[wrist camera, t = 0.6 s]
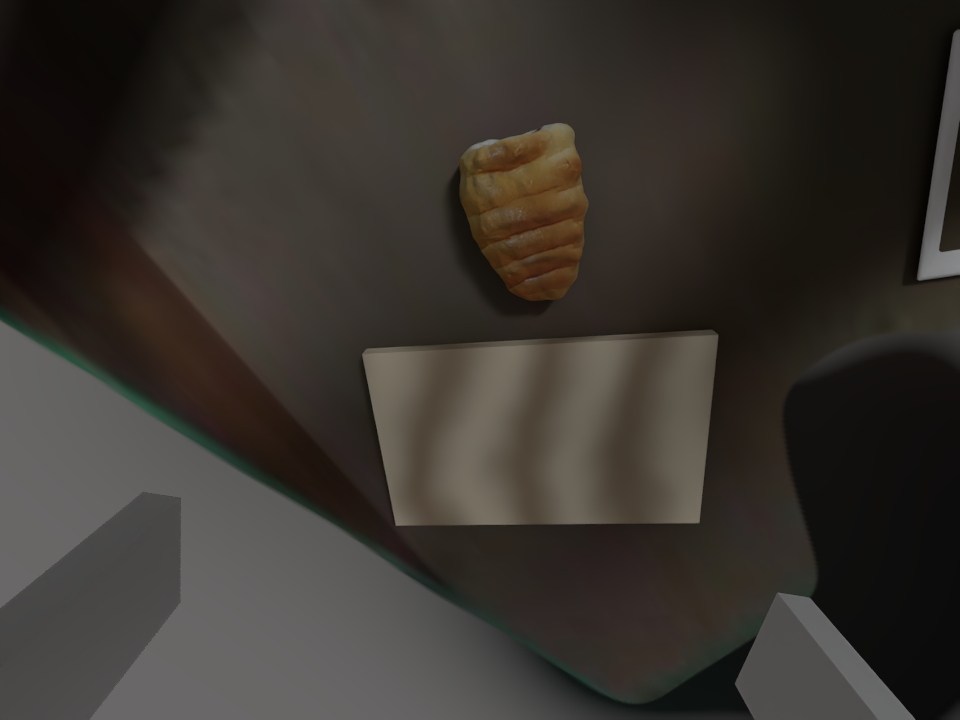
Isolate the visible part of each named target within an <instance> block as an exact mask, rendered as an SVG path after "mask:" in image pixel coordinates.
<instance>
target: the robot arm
mask: <svg viewBox="0 0 960 720" xmlns="http://www.w3.org/2000/svg"><path fill="white" fill-rule="evenodd" d="M180 500H181V498H178V497H172V496H165V495H159V494H152V493H147V492H142V493H141V494H140V495H139V496H137V497H136V498H135V499H134V500H133V501H131V502H130V503H129V504H128V505H127V506H125V507H124V508H123V509H122V510H120V511H119V512H118V513H117V514H115V515H114V516H113V517H112V518H111V519H109V520H108V521H107V522H106V523H104V524H103V525H102V526H101V527H99V528H98V529H97V530H96V531H95V532H94V533H92V534H91V535H90V536H88V537H87V538H86V539H85V540H83V541H82V542H81V543H80V544H79V545H77V546H76V547H75V548H74V549H72V550H71V551H70V552H69V553H68V554H66V555H65V556H64V557H63V558H61V559H60V560H59V561H58V562H57V563H55V564H54V565H53V566H52V567H50V568H49V569H48V570H47V571H45V572H44V573H43V574H42V575H41V576H39V577H38V578H37V579H36V580H34V582H32V583H31V584H30V585H28V586H27V587H26V588H25V589H23V590H22V591H21V592H20V593H19V594H17V595H16V596H15V597H14V598H12V599H11V600H10V601H9V602H8V603H6V604H5V605H4V606H3V607H1V608H0V720H89V719H90V718H91V717H92V716H93V714H94V713H95V712H96V710H97V709H98V708H99V707H100V705H101V704H102V703H103V701H104V700H105V699H106V698H107V696H108V695H109V694H110V692H111V691H112V690H113V688H114V687H115V686H116V685H117V683H118V682H119V681H120V679H121V678H122V677H123V676H124V674H125V673H126V672H127V670H128V669H129V668H130V667H131V665H132V664H133V663H134V661H135V660H136V659H137V658H138V656H139V655H140V654H141V652H142V651H143V650H144V649H145V647H146V646H147V645H148V643H149V642H150V641H151V640H152V638H153V637H154V636H155V634H156V633H157V632H158V630H159V629H160V628H161V627H162V625H163V624H164V623H165V622H166V620H167V619H168V618H169V616H170V615H171V614H172V613H173V611H174V610H175V609H176V607H177V606H178V605H179V603H180V538H181V537H180V536H181V530H180V529H181V528H180V527H181V526H180V525H181V519H180V518H181V505H180V504H181V501H180ZM735 685H736V687H737V688H738V690H739V692H740V694H741V696H742V697H743V699H744V701H745V703H746V705H747V707H748V708H749V710H750V712H751V714H752V716H753V718H754V719H755V720H915V719H914V717H913V716H912V715H911V714H910V713H909V712H908V711H907V710H906V708H905V707H904V706H903V705H902V704H901V703H900V701H899V700H898V699H897V698H896V697H895V696H894V694H893V693H892V692H891V691H890V690H889V689H888V688H887V687H886V685H885V684H884V683H883V682H882V681H881V680H880V678H879V677H878V676H877V675H876V674H875V673H874V671H873V670H872V669H871V668H870V667H869V666H868V665H867V663H866V662H865V661H864V660H863V659H862V658H861V656H860V655H859V654H858V653H857V652H856V651H855V650H854V648H853V647H852V646H851V645H850V644H849V643H848V641H847V640H846V639H845V638H844V637H843V636H842V635H841V633H840V632H839V631H838V630H837V629H836V628H835V627H834V625H833V624H832V623H831V622H830V621H829V620H828V618H827V617H826V616H825V615H824V614H823V613H822V612H821V610H820V609H819V608H818V607H817V606H816V605H815V603H814V602H813V601H812V600H811V599H810V598H808V597H802V596H795V595H789V594H783V593H777V594H776V596H775V599H774V601H773V603H772V605H771V607H770V609H769V612H768V614H767V616H766V618H765V620H764V622H763V624H762V627H761V629H760V631H759V633H758V635H757V637H756V640H755V642H754V644H753V646H752V648H751V650H750V652H749V655H748V657H747V659H746V661H745V663H744V666H743V668H742V670H741V672H740V674H739V676H738V678H737V680H736V683H735Z"/></svg>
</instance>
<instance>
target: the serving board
mask: <svg viewBox="0 0 960 720" xmlns="http://www.w3.org/2000/svg"><path fill="white" fill-rule="evenodd" d="M717 345H718V334H717V333H716V332H715V331H713V330H695V331H677V332H659V333H641V334H623V335H605V336H587V337H569V338H551V339H533V340H515V341H497V342H479V343H460V344H442V345H424V346H406V347H388V348H370V349H366V350H365V351H364V352H363V354H362V356H363V362H364V367H365V372H366V377H367V382H368V387H369V392H370V397H371V402H372V407H373V412H374V417H375V422H376V427H377V432H378V437H379V443H380V448H381V453H382V458H383V463H384V468H385V473H386V478H387V483H388V488H389V493H390V498H391V503H392V508H393V513H394V518H395V524H396V526H406V525H525V524H644V523H699V521H700V511H701V501H702V491H703V482H704V472H705V462H706V452H707V442H708V433H709V423H710V413H711V403H712V393H713V384H714V374H715V364H716V354H717Z"/></svg>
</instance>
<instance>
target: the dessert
mask: <svg viewBox="0 0 960 720" xmlns="http://www.w3.org/2000/svg"><path fill="white" fill-rule="evenodd" d="M959 121H960V29H958V30H956V31H955V32H954V34H953V39H952V46H951V52H950V59H949V66H948V73H947V79H946V86H945V93H944V100H943V106H942V113H941V120H940V126H939V133H938V140H937V147H936V153H935V160H934V167H933V174H932V180H931V187H930V194H929V200H928V207H927V214H926V221H925V227H924V234H923V241H922V247H921V254H920V261H919V268H918V274H917V280H919V281H921V280H928V279H935V278H942V277H949V276H955V275H960V250H953V251H947V252H940V251H939V245H940V239H941V233H942V226H943V220H944V214H945V208H946V202H947V195H948V189H949V183H950V177H951V171H952V164H953V158H954V152H955V146H956V140H957V133H958V127H959Z"/></svg>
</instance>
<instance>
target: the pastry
mask: <svg viewBox="0 0 960 720" xmlns="http://www.w3.org/2000/svg"><path fill="white" fill-rule="evenodd" d="M574 138H575V133H574V131H573V129H572V128H571V127H570V126H568V125H567V124H563V123H556V124H550V125H545V126H543V127H541V128H540V129H538V130H533V131H530V132H527V133H525V134H523V135H518V136H512V137H508V138H504V139H501V140H487V141H484V142H482V143H477V144H475V145H473V146H471V147H470V148H469V149H468V150H467V151H466V152H465V153H464V154H463V155H462V157H461V158H460V162H459V168H460V173H461V181H460V187H459V189H460V200H461V204H462V206H463V208H464V210H465V213H466V215H467V219H468V221H469V224H470V228H471V232H472V236H473V238H474V240H475V241H476V242H477V243H478V245H479V248H480V250H481V252H482V253H483V255H484V256H485V257H486V258H487V260H488V261H489V263H490V265H491V267H492V268H493V269H494V270H495V271H496V272H497V273H498V274H499V275H500V277H501V278H502V280H503V281H504V283H505V285H506V287H507V289H508V290H509V291H510V292H512V293H513V294H515V295H517V296H519V297H521V298H524V299H526V300H530V301H543V300H557V299H560V298H562V297H563V296H564V295H565V294H566V292H567V291H568V289H569V288H570V287H571V285H572V284H573V283H574V282H575V280H576V279H577V276H578V268H579V260H580V258H581V256H582V253H583V251H582V249H583V246H584V219H585V214H586V212H587V208H588V205H589V204H588V200H587V197H586V195H585V194H584V191H583V185H582V179H581V173H582V164H581V160H580V158H579V155H578V154H577V152H576V148H575V144H574Z"/></svg>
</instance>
